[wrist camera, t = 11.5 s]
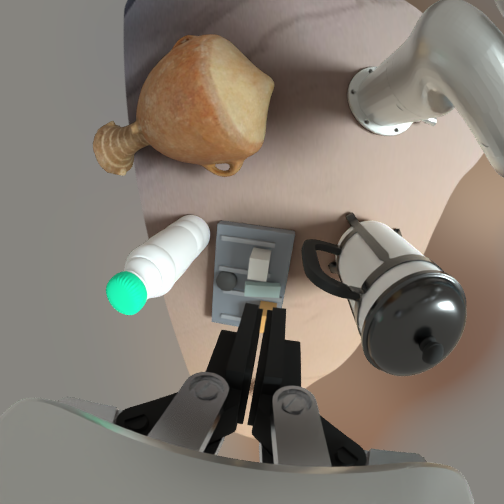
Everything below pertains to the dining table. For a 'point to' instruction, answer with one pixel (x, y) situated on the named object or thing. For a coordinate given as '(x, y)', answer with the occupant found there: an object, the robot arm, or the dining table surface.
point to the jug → (194, 109)
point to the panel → (246, 266)
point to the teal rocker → (262, 289)
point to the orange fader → (265, 312)
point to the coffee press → (392, 296)
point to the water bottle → (157, 264)
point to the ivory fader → (259, 264)
